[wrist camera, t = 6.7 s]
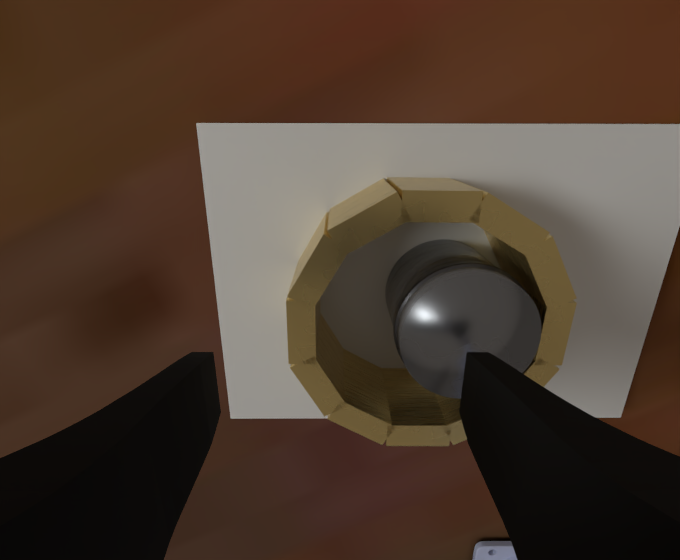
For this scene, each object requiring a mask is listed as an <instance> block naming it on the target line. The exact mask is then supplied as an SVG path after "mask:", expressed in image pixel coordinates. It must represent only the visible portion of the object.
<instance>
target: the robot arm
mask: <svg viewBox="0 0 680 560" xmlns="http://www.w3.org/2000/svg"><path fill="white" fill-rule="evenodd" d="M220 413H221V410H220V402H219V394H218V386H217V378H216V370H215V362H214V354H213V352H191V353H189V354H188V355H186V356H184V357H183V358H181V359H179V360H178V361H176V362H175V363H173V364H172V365H170V366H169V367H167V368H166V369H164V370H163V371H161V372H160V373H158V374H157V375H155V376H154V377H152V378H151V379H149V380H148V381H146V382H145V383H143V384H142V385H140V386H139V387H137V388H135V389H134V390H132V391H131V392H129V393H127V394H126V395H124V396H122V397H121V398H119V399H117V400H116V401H114V402H112V403H111V404H109V405H108V406H106V407H104V408H103V409H101V410H99V411H97V412H96V413H94V414H92V415H90V416H89V417H87V418H85V419H83V420H81V421H79V422H77V423H75V424H73V425H72V426H70V427H68V428H66V429H64V430H62V431H60V432H58V433H56V434H54V435H52V436H50V437H47V438H45V439H43V440H41V441H39V442H36V443H34V444H32V445H29V446H27V447H25V448H23V449H20V450H18V451H16V452H14V453H11V454H9V455H7V456H4V457H2V458H0V560H164V557H165V554H166V551H167V548H168V545H169V542H170V539H171V537H172V534H173V532H174V529H175V527H176V524H177V522H178V519H179V517H180V515H181V513H182V510H183V508H184V506H185V504H186V501H187V499H188V497H189V495H190V492H191V490H192V488H193V485H194V483H195V481H196V479H197V476H198V474H199V472H200V470H201V467H202V465H203V463H204V460H205V458H206V456H207V454H208V451H209V449H210V446H211V444H212V441H213V437H214V434H215V431H216V427H217V424H218V420H219V416H220ZM459 413H460V417H461V420H462V424H463V428H464V431H465V434H466V437H467V441H468V444H469V446H470V449H471V451H472V453H473V455H474V458H475V460H476V462H477V464H478V467H479V469H480V471H481V473H482V476H483V478H484V480H485V482H486V485H487V487H488V489H489V491H490V493H491V496H492V498H493V500H494V502H495V504H496V507H497V509H498V511H499V513H500V516H501V518H502V520H503V522H504V525H505V527H506V530H507V532H508V535H509V537H510V540H511V541H480V542H478V543H477V544H476V545H475V548H474V553H473V559H472V560H680V457H679V456H677V455H674V454H672V453H669V452H667V451H665V450H662V449H660V448H658V447H655V446H653V445H651V444H648V443H646V442H644V441H642V440H640V439H637V438H635V437H633V436H631V435H629V434H627V433H625V432H623V431H621V430H619V429H617V428H615V427H613V426H611V425H609V424H607V423H605V422H603V421H601V420H599V419H597V418H595V417H593V416H592V415H590V414H588V413H586V412H584V411H583V410H581V409H579V408H577V407H576V406H574V405H572V404H570V403H569V402H567V401H565V400H564V399H562V398H560V397H559V396H557V395H555V394H554V393H552V392H551V391H549V390H547V389H546V388H544V387H543V386H541V385H539V384H538V383H536V382H535V381H533V380H532V379H530V378H529V377H527V376H526V375H524V374H523V373H521V372H520V371H518V370H517V369H515V368H513V367H512V366H510V365H509V364H507V363H506V362H504V361H503V360H501V359H499V358H498V357H496V356H494V355H493V354H491V353H489V352H467V354H466V362H465V369H464V377H463V385H462V393H461V400H460V408H459Z"/></svg>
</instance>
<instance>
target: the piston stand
mask: <svg viewBox="0 0 680 560" xmlns="http://www.w3.org/2000/svg"><path fill="white" fill-rule="evenodd" d="M196 126H197V134H198V143H199V151H200V160H201V169H202V177H203V186H204V194H205V203H206V211H207V220H208V228H209V237H210V246H211V254H212V263H213V271H214V280H215V288H216V297H217V305H218V314H219V323H220V331H221V340H222V348H223V357H224V365H225V374H226V383H227V391H228V400H229V408H230V417H231V419H244V418H328V415H327V416H324V415H323V414H322V412H321V411H320V410H319V408H318V407H317V405H316V404H315V403H314V401H313V400H312V398H311V397H310V396H309V394H308V393H307V391H306V390H305V389H304V387H303V386H302V384H301V383H300V381H299V380H298V379H297V377H296V376H295V374H294V373H293V372H292V370H291V369H290V365H291V364H289V363H288V339H287V315H286V299H287V295H288V292H289V289H290V285H291V282H292V279H293V276H294V273H295V269H296V266H297V263H298V260H299V259H300V257H301V255H302V253H303V252H304V250H305V248H306V247H307V245H308V243H309V241H310V240H311V238H312V236H313V234H314V233H315V231H316V229H317V228H318V226H319V224H320V222H321V221H322V219H323V217H324V215H325V214H326V212H328V213H329V210H330V208H332V207H334V206H335V205H337V204H339V203H341V202H342V201H344V200H346V199H348V198H349V197H351V196H353V195H355V194H356V193H358V192H360V191H362V190H363V189H365V188H367V187H369V186H370V185H372V184H374V183H376V182H378V181H379V180H381V179H384V180H385V181H386V182H387V177H413V178H450V179H454V180H457V181H459V182H462V183H465V184H467V185H470V186H473V187H475V188H478V189H480V190H483V191H486V192H488V193H490V194H491V195H493V196H495V197H496V198H498V199H499V200H501V201H502V202H504V203H505V204H507V205H508V206H510V207H511V208H513V209H514V210H516V211H518V212H519V213H521V214H522V215H524V216H525V217H527V218H528V219H530V220H531V221H533V222H534V223H536V224H538V225H539V226H541V227H542V228H544V229H545V230H547V231H548V232H550V233H549V235H551V236H553V238H554V240H555V243H556V246H557V248H558V251H559V253H560V256H561V259H562V261H563V264H564V267H565V269H566V272H567V274H568V277H569V280H570V282H571V285H572V287H573V290H574V293H575V295H576V299H574V301H575V302H576V303H577V305H576V309H575V313H574V317H573V321H572V325H571V330H570V334H569V338H568V342H567V346H566V350H565V355H564V359H563V363H562V365H556V366H557V367H558V368H559V369H560V370H559V371H558V372H557V373H556V374H555V375H554V376H553V377H552V378H551V380H550V381H549V382H548V383H547V384H546V385H545V386H544V388H546V389H547V390H549V391H551V392H552V393H554V394H555V395H557V396H559V397H560V398H562V399H564V400H565V401H567V402H569V403H570V404H572V405H574V406H576V407H577V408H579V409H581V410H583V411H584V412H586V413H588V414H590V415H592V416H593V417H595V418H621V415H622V412H623V409H624V405H625V402H626V399H627V396H628V392H629V389H630V386H631V383H632V379H633V376H634V373H635V370H636V366H637V363H638V360H639V357H640V353H641V350H642V347H643V344H644V340H645V337H646V334H647V331H648V327H649V324H650V321H651V318H652V314H653V311H654V308H655V305H656V301H657V298H658V295H659V292H660V288H661V285H662V282H663V279H664V275H665V272H666V269H667V266H668V262H669V259H670V256H671V253H672V249H673V246H674V243H675V240H676V236H677V233H678V230H679V227H680V124H375V123H196ZM320 313H321V315H322V316H323V318H324V319H325V321H326V322H327V324H328V325H329V327H330V329H331V330H332V332H333V333H334V335H335V336H336V338H337V339H338V341H339V343H340V344H341V346H342V347H343V349H345V350H347V351H349V352H351V353H353V354H355V355H357V356H359V357H361V358H363V359H365V360H366V361H368V362H370V363H372V364H374V365H376V366H378V367H380V368H406V369H407V370H408V372H409V373H410V375H411V376H412V377H413V378H414V380H415V381H416V382H417V383H419V384H420V385H421V386H422V387H424V388H425V389H427V390H429V391H431V392H433V393H435V394H437V395H441V396H444V397H449V398H457V399H461V393H462V385H463V377H464V369H465V362H466V354H467V352H489V353H491V354H493V355H494V356H496V357H498V358H499V359H501V360H503V361H504V362H506V363H507V364H509V365H510V366H512V367H513V368H515V369H517V370H518V371H520V372H521V373H523V372H524V371H525V370H526V369H527V367H528V366H529V365H530V363H531V362H532V360H533V358H534V357H535V355H536V352H537V350H538V347H539V344H540V340H541V319H540V315H539V312H538V309H537V307H536V305H535V303H534V301H533V300H532V299H531V297H530V296H529V295H528V294H527V292H526V290H525V289H524V288H523V287H522V285H521V284H520V283H519V282H518V281H517V280H516V279H515V278H514V277H512V276H511V275H510V274H508V273H507V272H505V271H504V270H502V269H501V268H500V266H499V263H498V261H497V259H496V257H495V254H494V252H493V250H492V248H491V245H490V243H489V241H488V239H487V236H486V234H485V232H484V230H483V229H482V228H481V227H479V226H478V225H476V224H474V223H434V222H406V223H404V224H402V225H400V226H398V227H397V228H395V229H393V230H391V231H389V232H387V233H385V234H384V235H382V236H380V237H378V238H376V239H374V240H373V241H371V242H369V243H367V244H365V245H363V246H361V247H360V248H358V249H356V250H354V251H352V252H350V253H349V254H347V255H346V257H345V259H344V260H343V262H342V264H341V265H340V267H339V268H338V270H337V272H336V273H335V275H334V276H333V278H332V280H331V281H330V283H329V284H328V286H327V288H326V289H325V291H324V293H323V294H322V296H321V297H320Z"/></svg>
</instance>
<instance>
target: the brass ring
mask: <svg viewBox="0 0 680 560" xmlns="http://www.w3.org/2000/svg"><path fill="white" fill-rule="evenodd" d="M406 222H434V223H474V224H476V225H478V226H479V227H481V228H482V229H483V230H484V232H485V234H486V236H487V239H488V241H489V243H490V245H491V248H492V250H493V252H494V254H495V257H496V259H497V261H498V263H499V266H500V268H501V269H502V270H504V271H505V272H507V273H508V274H510V275H511V276H512V277H514V278H515V279H516V280H517V281H518V282H519V283H520V284H521V285H522V287H523V288H524V289H525V290H526V292H527V294H528V295H529V296H530V297H531V299H532V300H533V301H534V303H535V305H536V307H537V309H538V312H539V315H540V319H541V340H540V344H539V347H538V350H537V352H536V355H535V357H534V358H533V360H532V362H531V363H530V365H529V366H528V367H527V369H526V370H525V371H524V372H523V374H524V375H526V376H527V377H529V378H530V379H532V380H533V381H535V382H536V383H538V384H539V385H541V386H543V387H544V386H545V385H546V384H547V383H548V382H549V381H550V380H551V378H552V377H553V376H554V375H555V374H556V373H557V372H558V371H559V370H560V369H559V368H558V367H557V366H556V365H562V363H563V359H564V355H565V350H566V346H567V342H568V338H569V334H570V330H571V325H572V321H573V317H574V313H575V309H576V305H577V303H576V302H575V301H574V299H576V295H575V293H574V290H573V287H572V285H571V282H570V280H569V277H568V274H567V272H566V269H565V267H564V264H563V261H562V259H561V256H560V253H559V251H558V248H557V246H556V243H555V240H554V238H553V236H551V235H549V233H550V232H548V231H547V230H545V229H544V228H542V227H541V226H539V225H538V224H536V223H534V222H533V221H531V220H530V219H528V218H527V217H525V216H524V215H522V214H521V213H519V212H518V211H516V210H514V209H513V208H511V207H510V206H508V205H507V204H505V203H504V202H502V201H501V200H499V199H498V198H496V197H495V196H493V195H491V194H490V193H488V192H486V191H483V190H480V189H478V188H475V187H473V186H470V185H467V184H465V183H462V182H459V181H457V180H454V179H450V178H413V177H387V182H386V181H385V180H384V179H381V180H379V181H378V182H376V183H374V184H372V185H370V186H369V187H367V188H365V189H363V190H362V191H360V192H358V193H356V194H355V195H353V196H351V197H349V198H348V199H346V200H344V201H342V202H341V203H339V204H337V205H335V206H334V207H332V208H330V210H329V213H328V212H326V214H325V215H324V217H323V219H322V221H321V222H320V224H319V226H318V228H317V229H316V231H315V233H314V234H313V236H312V238H311V240H310V241H309V243H308V245H307V247H306V248H305V250H304V252H303V253H302V255H301V257H300V259H299V260H298V263H297V266H296V269H295V273H294V276H293V279H292V282H291V285H290V289H289V292H288V295H287V299H286V315H287V339H288V363H289V364H291V365H290V369H291V370H292V372H293V373H294V374H295V376H296V377H297V379H298V380H299V381H300V383H301V384H302V386H303V387H304V389H305V390H306V391H307V393H308V394H309V396H310V397H311V398H312V400H313V401H314V403H315V404H316V405H317V407H318V408H319V410H320V411H321V412H322V414H323V415H324V416H327V415H328V420H330V421H333V422H335V423H337V424H339V425H341V426H343V427H345V428H347V429H349V430H352V431H354V432H356V433H358V434H360V435H362V436H364V437H366V438H368V439H371V440H373V441H375V442H377V443H379V444H381V445H382V444H383V443H384V442H385V441H386V446H449V441H451V442H452V444H453V445H455V444H457V443H459V442H462V441H464V440H466V439H467V437H466V434H465V431H464V428H463V424H462V420H461V417H460V413H459V408H460V400H461V399H457V398H449V397H444V396H441V395H437V394H435V393H433V392H431V391H429V390H427V389H425V388H424V387H422V386H421V385H420V384H419V383H417V382H416V381H415V380H414V378H413V377H412V376H411V375H410V373H409V372H408V370H407V369H406V368H380V367H378V366H376V365H374V364H372V363H370V362H368V361H366V360H365V359H363V358H361V357H359V356H357V355H355V354H353V353H351V352H349V351H347V350H345V349H343V347H342V346H341V344H340V343H339V341H338V339H337V338H336V336H335V335H334V333H333V332H332V330H331V329H330V327H329V325H328V324H327V322H326V321H325V319H324V318H323V316H322V315H321V313H320V297H321V296H322V294H323V293H324V291H325V289H326V288H327V286H328V284H329V283H330V281H331V280H332V278H333V276H334V275H335V273H336V272H337V270H338V268H339V267H340V265H341V264H342V262H343V260H344V259H345V257H346V255H347V254H349V253H350V252H352V251H354V250H356V249H358V248H360V247H361V246H363V245H365V244H367V243H369V242H371V241H373V240H374V239H376V238H378V237H380V236H382V235H384V234H385V233H387V232H389V231H391V230H393V229H395V228H397V227H398V226H400V225H402V224H404V223H406Z"/></svg>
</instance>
